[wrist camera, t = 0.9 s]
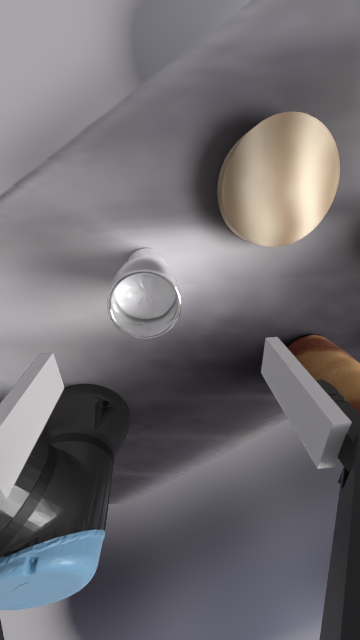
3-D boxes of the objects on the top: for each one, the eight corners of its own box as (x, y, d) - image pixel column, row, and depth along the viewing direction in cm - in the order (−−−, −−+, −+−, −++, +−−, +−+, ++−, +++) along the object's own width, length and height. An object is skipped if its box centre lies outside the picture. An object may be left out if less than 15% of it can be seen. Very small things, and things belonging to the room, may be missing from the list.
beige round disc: (220, 250, 35) (228, 254, 32) (212, 132, 29) (221, 121, 26) (313, 234, 36) (332, 237, 32) (323, 116, 30) (347, 103, 26)
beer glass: (172, 290, 37) (185, 336, 23) (126, 294, 36) (112, 344, 23) (169, 242, 34) (181, 264, 20) (118, 246, 33) (96, 271, 20)
